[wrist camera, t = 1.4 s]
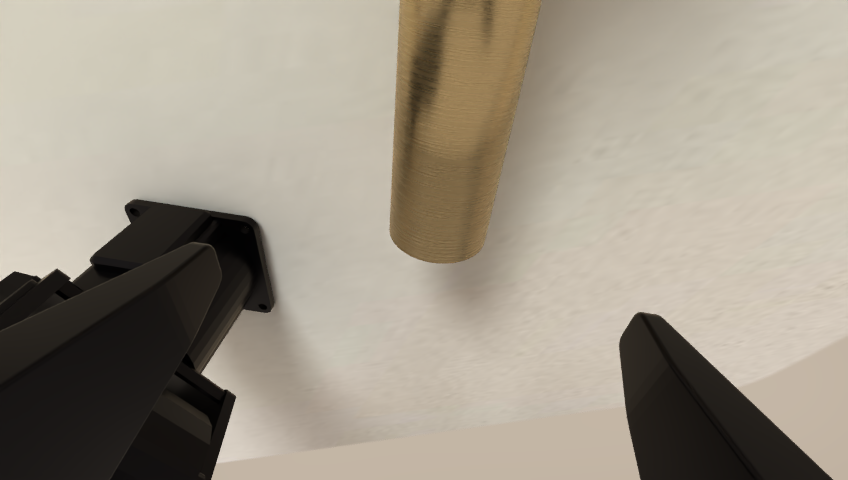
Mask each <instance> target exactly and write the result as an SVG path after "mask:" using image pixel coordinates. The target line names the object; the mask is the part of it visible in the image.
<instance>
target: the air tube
mask: <svg viewBox="0 0 848 480" xmlns="http://www.w3.org/2000/svg"><path fill="white" fill-rule="evenodd" d="M541 2H542V0H400V10H399V32H398V54H397V76H396V98H395V120H394V142H393V165H392V187H391V209H390V236H391V238H392V240H393V242H394V243H395V244H396V245H397V247H398V248H400V249H401V250H402V251H403V252H405V253H406V254H408V255H410V256H412V257H414V258H417V259H419V260H423V261H427V262H432V263H455V262H460V261H464V260H466V259H469V258H471V257H473V256H474V255H476V254H477V253H478V252H479V251H480V250H481V248H482V247H483V245H484V241H485V237H486V233H487V229H488V225H489V220H490V216H491V212H492V208H493V204H494V199H495V195H496V191H497V187H498V183H499V178H500V174H501V170H502V166H503V162H504V157H505V153H506V149H507V145H508V140H509V136H510V132H511V128H512V124H513V119H514V115H515V111H516V107H517V103H518V98H519V94H520V90H521V86H522V82H523V77H524V73H525V69H526V65H527V61H528V56H529V52H530V48H531V44H532V39H533V35H534V31H535V27H536V23H537V18H538V14H539V10H540V6H541Z"/></svg>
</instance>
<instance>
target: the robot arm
mask: <svg viewBox="0 0 848 480" xmlns="http://www.w3.org/2000/svg"><path fill="white" fill-rule="evenodd" d="M125 211H126V214H127V216H128V218H129V220H130V222H131V224H130V225H129V226H127V227H126V228H125V229H124V230H123V231H121V232H120V233H119V234H118V235H117V236H115V237H114V238H113V239H112V240H110V241H109V242H108V243H107V244H106V245H104V246H103V247H102V248H101V249H100V250H98V251H97V252H96V253H95V254H94V255H93V256H92V257H91V258H90V262H91V264H92V266H90V267H89V268H88V269H87V270H86V271H85V272H83V273H82V274H81V275H80V276H79V277H77V278H76V279H75V280H74V281H73V282H71V281H69V280H70V279H71V278H70V277H68V276H67V275H66V274H64V273H63V272H61V271H60V270H59V269H56V270H54V271H53V272H51V273H50V274H48V275H47V276H45V277H44V278H42V279H40V278H39V277H37V276H31V275H27V274H23V273H19V272H15V271H14V272H13V273H11V274H10V275H9V276H7V277H6V278H5V279H3V280H2V281H0V480H211V478H212V475H213V471H214V468H215V465H216V462H217V458H218V455H219V452H220V448H221V445H222V442H223V439H224V435H225V432H226V429H227V425H228V422H229V419H230V415H231V412H232V409H233V406H234V402H235V399H236V396H235V395H234V394H232V393H231V392H230V391H228V390H223V389H221V388H220V387H219V386H217V385H216V384H214V383H213V382H212V381H210V380H209V379H207V378H206V377H205V376H203V375H202V374H201V373H202V372H203V370H204V369H205V367H206V366H207V364H208V362H209V361H210V359H211V358H212V356H213V355H214V353H215V352H216V350H217V349H218V347H219V346H220V344H221V342H222V341H223V339H224V338H225V336H226V335H227V333H228V332H229V330H230V329H231V327H232V326H233V324H234V322H235V321H236V319H237V318H238V316H239V315H240V313H241V312H242V310H243V309H246V310H252V311H258V312H264V313H268V312H270V311H271V310H272V308H273V307H274V298H273V294H272V289H271V284H270V280H269V275H268V270H267V265H266V261H265V256H264V251H263V247H262V242H261V237H260V232H259V228H258V225H257V223H256V222H255V221H254V220H253V219H252V218H250V217H247V216H240V215H234V214H228V213H221V212H215V211H208V210H202V209H195V208H189V207H183V206H176V205H170V204H163V203H157V202H150V201H144V200H138V199H134V200H132V201H130V202H129V203H128V204H126V205H125ZM245 226H246V227H247V228H246V227H245ZM248 228H249V229H248ZM619 350H620V359H621V369H622V378H623V388H624V397H625V406H626V413H627V419H628V424H629V430H630V434H631V439H632V443H633V447H634V452H635V457H636V461H637V466H638V470H639V475H640V479H641V480H833V479H832V478H831V477H830V476H829V475H828V474H826V473H825V472H824V471H823V470H822V469H821V468H820V467H819V466H818V465H817V464H816V463H815V462H814V461H813V460H812V459H811V458H810V457H809V456H808V455H806V454H805V453H804V452H803V451H802V450H801V449H800V448H799V447H798V446H797V445H796V444H795V443H794V442H793V441H791V439H790V438H789V437H787V436H786V435H785V434H784V433H783V432H782V431H781V430H780V429H779V428H778V427H777V426H776V425H775V424H774V423H773V422H772V421H771V420H770V419H769V418H767V417H766V416H765V415H764V414H763V413H762V412H761V411H760V410H759V409H758V408H757V407H756V406H755V405H754V404H753V403H752V402H751V401H750V400H749V399H747V398H746V397H745V396H744V395H743V394H742V393H741V392H740V391H739V390H738V389H737V388H736V387H735V386H734V385H733V384H732V383H731V382H730V381H729V380H728V379H726V378H725V377H724V376H723V375H722V374H721V373H720V372H719V371H718V370H717V369H716V368H715V367H714V366H713V365H712V364H711V363H710V362H709V361H708V360H706V359H705V358H704V357H703V356H702V355H701V354H700V353H699V352H698V351H697V350H696V349H695V348H694V347H693V346H692V345H691V344H690V343H689V342H688V341H686V340H685V339H684V338H683V337H682V336H681V335H680V334H679V333H678V332H677V331H676V330H675V329H674V328H673V327H672V326H671V325H670V324H669V323H668V322H666V321H665V320H664V319H663V318H662V317H661V316H659V315H656V314H650V313H644V312H639V313H637V314H635V315H634V317H633V318H632V320H631V321H630V323H629V325H628V326H627V328H626V329H625V331H624V333H623V334H622V336H621V338H620V343H619Z"/></svg>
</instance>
